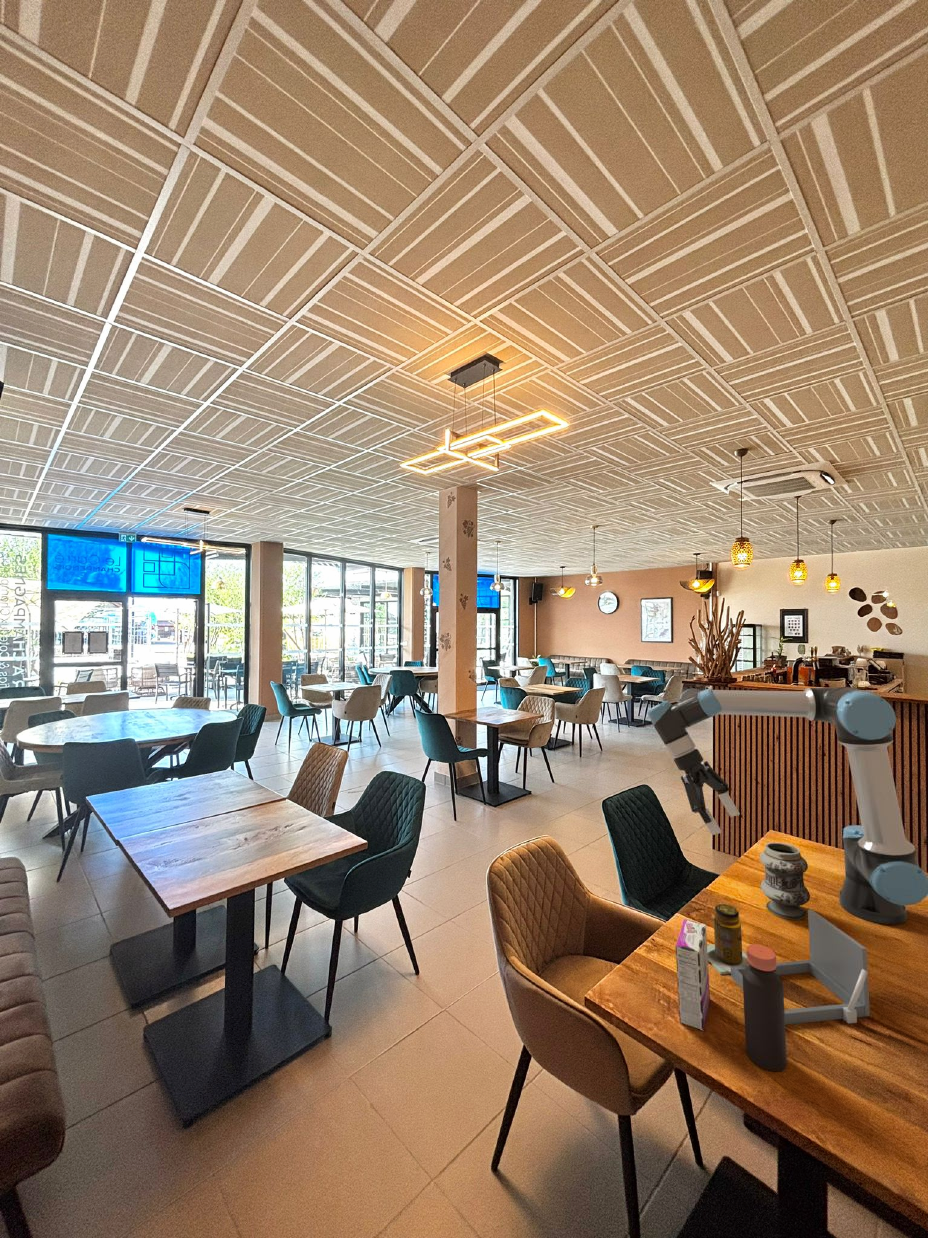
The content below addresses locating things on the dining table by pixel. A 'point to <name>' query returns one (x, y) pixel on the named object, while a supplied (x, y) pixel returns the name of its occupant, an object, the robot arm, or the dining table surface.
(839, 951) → the grey holder frame
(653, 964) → the dining table surface
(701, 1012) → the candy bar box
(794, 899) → the apothecary jar
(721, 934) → the condiment
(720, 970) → the pad
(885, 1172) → the dining table surface
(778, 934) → the dining table surface
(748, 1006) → the bottle
